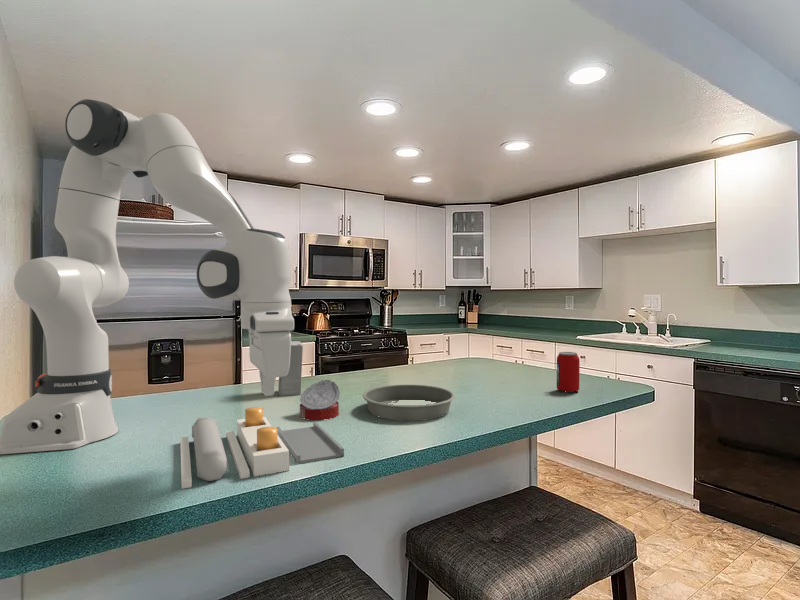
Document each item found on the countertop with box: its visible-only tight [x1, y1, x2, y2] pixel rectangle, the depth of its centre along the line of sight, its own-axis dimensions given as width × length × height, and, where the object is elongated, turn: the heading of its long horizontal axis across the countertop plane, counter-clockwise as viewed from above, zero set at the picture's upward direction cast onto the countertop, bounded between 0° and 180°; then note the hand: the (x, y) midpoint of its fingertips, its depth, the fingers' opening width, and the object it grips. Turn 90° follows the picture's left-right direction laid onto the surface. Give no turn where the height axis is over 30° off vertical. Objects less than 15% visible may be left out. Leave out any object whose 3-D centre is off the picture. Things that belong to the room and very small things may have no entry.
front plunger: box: [257, 426, 277, 451], centre depth 85 cm, size 4×4×4 cm
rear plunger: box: [244, 406, 264, 427], centre depth 99 cm, size 4×4×4 cm
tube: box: [191, 416, 228, 482], centre depth 88 cm, size 5×5×25 cm
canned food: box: [299, 379, 341, 421], centre depth 119 cm, size 11×10×10 cm
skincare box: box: [277, 340, 304, 397], centre depth 145 cm, size 8×7×16 cm
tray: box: [276, 421, 345, 465], centre depth 96 cm, size 9×20×2 cm, turn 26°
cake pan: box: [362, 384, 456, 421], centre depth 124 cm, size 25×25×4 cm
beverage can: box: [556, 351, 581, 393], centre depth 146 cm, size 7×7×12 cm
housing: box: [179, 416, 290, 489], centre depth 90 cm, size 17×25×4 cm
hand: (267, 394), depth 85 cm, fingers closed
